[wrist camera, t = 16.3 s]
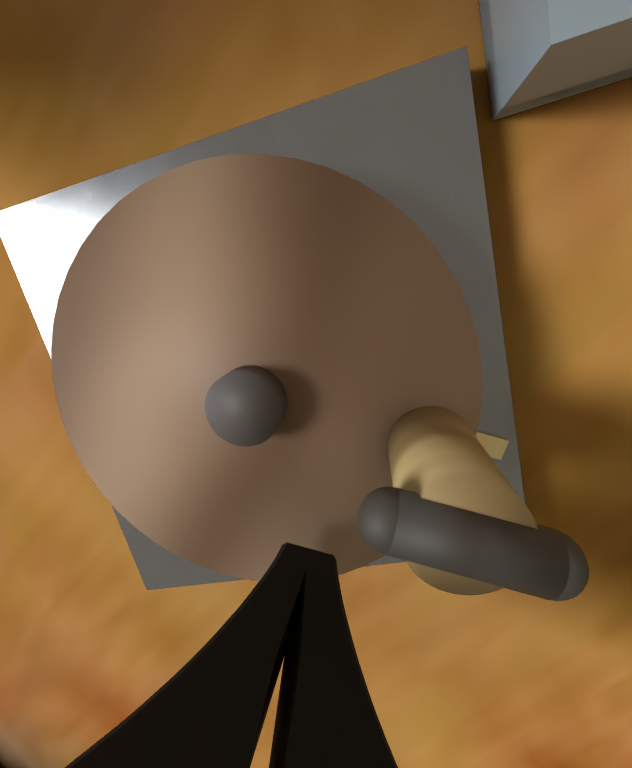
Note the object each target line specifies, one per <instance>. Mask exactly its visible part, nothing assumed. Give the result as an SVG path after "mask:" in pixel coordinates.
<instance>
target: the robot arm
mask: <svg viewBox="0 0 632 768" xmlns="http://www.w3.org/2000/svg"><path fill="white" fill-rule="evenodd" d="M284 655H285V656H284ZM283 659H284V663H283V670H282V677H281V684H280V691H279V698H278V706H277V713H276V720H275V727H274V734H273V742H272V749H271V756H270V763H269V768H398V767H397V764H396V762H395V759H394V757H393V755H392V752H391V750H390V747H389V745H388V743H387V740H386V737H385V735H384V732H383V730H382V727H381V724H380V722H379V719H378V717H377V714H376V711H375V709H374V706H373V703H372V700H371V697H370V694H369V692H368V689H367V686H366V683H365V680H364V676H363V673H362V670H361V667H360V664H359V661H358V658H357V654H356V651H355V647H354V644H353V640H352V636H351V633H350V629H349V625H348V621H347V617H346V613H345V609H344V605H343V600H342V595H341V590H340V584H339V578H338V571H337V560H336V558H335V557H334V555H332V554H328V553H324V552H321V551H317V550H313V549H310V548H306V547H302V546H299V545H295V544H291V543H288V542H287V543H285V544H283V545H282V546H281V548H280V550H279V552H278V554H277V556H276V557H275V559H274V561H273V562H272V564H271V565H270V567H269V568H268V570H267V571H266V573H265V574H264V575H263V577H262V578H261V580H260V581H259V582H258V584H257V585H256V586H255V588H254V589H253V590H252V591H251V593H250V594H249V595H248V597H247V598H246V599H245V600H244V602H243V603H242V604H241V605H240V607H239V608H238V609H237V610H236V611H235V612H234V613H233V615H232V616H231V617H230V618H229V619H228V620H227V621H226V623H225V624H224V625H223V626H222V627H221V628H220V629H219V630H218V632H217V633H216V634H215V635H214V636H213V637H212V638H211V639H210V640H209V641H208V642H207V643H206V644H205V646H204V647H203V648H202V649H201V650H200V651H199V652H198V653H197V654H196V655H195V656H194V657H193V658H192V659H191V660H190V661H189V662H188V663H187V664H186V665H185V666H184V667H182V668H181V669H180V670H179V671H178V672H177V673H176V674H175V675H174V676H173V677H172V678H171V679H170V680H169V681H168V682H167V683H165V684H164V685H163V686H162V687H161V688H160V689H159V690H158V691H157V692H156V693H154V694H153V695H152V696H151V697H150V698H149V699H148V700H147V701H146V702H144V703H143V704H142V705H141V706H140V707H139V708H138V709H136V710H135V711H134V712H133V713H132V714H131V715H129V716H128V717H127V718H126V719H125V720H124V721H122V722H121V723H120V724H119V725H118V726H116V727H115V728H114V729H113V730H111V731H110V732H109V733H108V734H106V735H105V736H104V737H103V738H101V739H100V740H99V741H98V742H96V743H95V744H94V745H93V746H91V747H90V748H89V749H88V750H86V751H85V752H84V753H83V754H81V755H80V756H79V757H77V758H76V759H75V760H74V761H72V762H71V763H70V764H69V765H67V766H66V767H65V768H250V765H251V762H252V759H253V756H254V752H255V749H256V746H257V743H258V740H259V736H260V733H261V730H262V727H263V723H264V720H265V717H266V714H267V710H268V707H269V704H270V701H271V697H272V694H273V691H274V688H275V684H276V681H277V678H278V675H279V672H280V668H281V665H282V662H283Z"/></svg>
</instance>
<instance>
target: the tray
mask: <svg viewBox="0 0 632 768" xmlns="http://www.w3.org/2000/svg"><path fill="white" fill-rule="evenodd" d="M479 8H480V16H481V25H482V33H483V42H484V50H485V59H486V67H487V76H488V84H489V92H490V101H491V109H492V118H493V120H496V119H499V118H503V117H506V116H509V115H512V114H515V113H518V112H522V111H525V110H528V109H531V108H534V107H538V106H541V105H544V104H547V103H550V102H554V101H557V100H560V99H563V98H566V97H569V96H573V95H576V94H579V93H582V92H585V91H589V90H592V89H595V88H598V87H601V86H604V85H608V84H611V83H614V82H617V81H620V80H624V79H627V78H630V77H632V0H479Z"/></svg>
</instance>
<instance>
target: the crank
mask: <svg viewBox="0 0 632 768" xmlns="http://www.w3.org/2000/svg"><path fill="white" fill-rule="evenodd" d="M51 360H52V377H53V383H54V388H55V394H56V400H57V404H58V407H59V411H60V414H61V417H62V421H63V424H64V427H65V429H66V432H67V434H68V437H69V439H70V441H71V444H72V446H73V448H74V450H75V452H76V454H77V456H78V458H79V459H80V461H81V463H82V465H83V467H84V468H85V470H86V472H87V473H88V475H89V476H90V478H91V479H92V480H93V482H94V483H95V485H96V486H97V487H98V489H99V490H100V492H101V493H102V494H103V495H104V496H105V497H106V499H107V500H108V501H109V502H110V503H111V504H112V505H113V507H114V508H115V509H116V510H117V511H118V512H119V513H120V514H121V515H122V516H123V517H124V518H125V519H127V520H128V521H129V522H130V523H131V524H132V525H133V526H134V527H135V528H136V529H138V530H139V531H140V532H142V533H143V534H144V535H146V536H147V537H148V538H150V539H151V540H152V541H154V542H155V543H157V544H158V545H160V546H162V547H163V548H165V549H167V550H168V551H170V552H172V553H173V554H175V555H177V556H179V557H181V558H183V559H185V560H188V561H190V562H192V563H194V564H196V565H198V566H201V567H204V568H207V569H210V570H213V571H216V572H218V573H221V574H226V575H230V576H234V577H239V578H243V579H249V580H258V581H260V580H261V578H262V577H263V575H264V574H265V573H266V571H267V570H268V568H269V567H270V565H271V564H272V562H273V561H274V559H275V557H276V556H277V554H278V552H279V550H280V548H281V546H282V545H283V544H285V543H287V542H288V543H291V544H295V545H299V546H302V547H306V548H310V549H313V550H317V551H321V552H324V553H328V554H332V555H334V557H335V558H336V560H337V571H338V575H340V574H343V573H346V572H349V571H352V570H354V569H357V568H360V567H363V566H365V565H367V564H369V563H371V562H373V561H375V560H377V559H379V558H381V557H383V556H385V555H387V556H391V557H395V558H398V559H402V560H405V561H406V562H407V563H408V565H409V567H410V568H411V569H412V571H413V572H414V573H415V574H416V575H417V576H418V577H419V578H421V579H422V580H423V581H424V582H426V583H428V584H429V585H431V586H433V587H435V588H437V589H439V590H442V591H445V592H449V593H453V594H460V595H479V594H485V593H490V592H493V591H496V590H499V589H501V588H507V589H511V590H514V591H518V592H521V593H525V594H529V595H532V596H536V597H540V598H543V599H547V600H553V601H564V600H569V599H572V598H574V597H576V596H577V595H579V594H580V593H581V592H582V591H583V590H584V588H585V586H586V584H587V582H588V578H589V568H588V563H587V560H586V557H585V555H584V553H583V552H582V550H581V549H580V547H579V546H578V545H577V544H576V543H575V542H574V541H573V540H572V539H571V538H570V537H568V536H567V535H565V534H564V533H562V532H560V531H558V530H555V529H552V528H549V527H545V526H541V525H537V524H536V522H535V519H534V517H533V515H532V513H531V512H530V510H529V509H528V508H527V506H526V505H525V503H524V502H523V501H522V499H521V498H520V497H519V495H518V494H517V493H516V491H515V490H514V488H513V487H512V486H511V484H510V483H509V482H508V480H507V479H506V478H505V476H504V475H503V473H502V472H501V471H500V469H499V468H498V467H497V465H496V464H495V463H494V461H493V460H492V458H491V457H490V456H489V454H488V453H487V452H486V450H485V449H484V447H483V446H482V445H481V443H480V442H479V441H478V439H477V438H476V434H477V430H478V425H479V419H480V412H481V405H482V363H481V356H480V349H479V342H478V337H477V333H476V330H475V326H474V323H473V320H472V316H471V313H470V309H469V306H468V304H467V302H466V300H465V298H464V295H463V293H462V291H461V289H460V287H459V285H458V282H457V280H456V278H455V276H454V275H453V273H452V271H451V270H450V268H449V267H448V265H447V264H446V262H445V261H444V259H443V257H442V256H441V254H440V253H439V251H438V250H437V248H436V247H435V246H434V245H433V244H432V242H431V241H430V240H429V239H428V238H427V237H426V236H425V234H424V233H423V232H422V231H421V230H420V229H419V227H418V226H417V225H416V224H415V223H414V222H413V221H412V220H411V219H410V218H408V217H407V216H406V215H405V214H404V213H403V212H401V211H400V210H399V209H398V208H397V207H396V206H395V205H393V204H392V203H391V202H390V201H389V200H387V199H386V198H384V197H383V196H381V195H380V194H378V193H376V192H375V191H373V190H372V189H370V188H369V187H367V186H366V185H364V184H362V183H361V182H359V181H357V180H355V179H353V178H350V177H348V176H346V175H344V174H342V173H339V172H337V171H335V170H333V169H331V168H328V167H325V166H322V165H318V164H315V163H311V162H307V161H304V160H300V159H297V158H291V157H283V156H276V155H268V154H229V155H224V156H218V157H213V158H207V159H201V160H197V161H194V162H191V163H188V164H185V165H182V166H179V167H176V168H173V169H171V170H168V171H166V172H164V173H162V174H160V175H158V176H157V177H155V178H153V179H151V180H149V181H147V182H145V183H143V184H141V185H140V186H139V187H137V188H136V189H135V190H133V191H132V192H131V193H129V194H128V195H127V196H125V197H124V198H123V199H121V200H120V201H119V202H117V203H116V204H115V205H114V206H113V207H112V208H111V209H110V210H109V211H108V212H107V214H106V215H105V216H104V217H103V218H102V219H101V220H100V221H99V222H98V223H97V224H96V225H95V227H94V228H93V229H92V231H91V232H90V234H89V235H88V236H87V238H86V239H85V240H84V242H83V243H82V245H81V246H80V248H79V250H78V252H77V254H76V256H75V257H74V259H73V261H72V263H71V265H70V267H69V269H68V271H67V274H66V277H65V279H64V282H63V285H62V288H61V291H60V293H59V296H58V301H57V306H56V311H55V315H54V320H53V329H52V342H51Z"/></svg>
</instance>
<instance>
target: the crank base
mask: <svg viewBox="0 0 632 768" xmlns="http://www.w3.org/2000/svg"><path fill="white" fill-rule="evenodd" d="M229 154H268V155H276V156H283V157H291V158H297V159H300V160H304V161H307V162H311V163H315V164H318V165H322V166H325V167H328V168H331V169H333V170H335V171H337V172H339V173H342V174H344V175H346V176H348V177H350V178H353V179H355V180H357V181H359V182H361V183H362V184H364V185H366V186H367V187H369V188H370V189H372V190H373V191H375V192H376V193H378V194H380V195H381V196H383V197H384V198H386V199H387V200H389V201H390V202H391V203H392V204H393V205H395V206H396V207H397V208H398V209H399V210H400V211H401V212H403V213H404V214H405V215H406V216H407V217H408V218H410V219H411V220H412V221H413V222H414V223H415V224H416V225H417V226H418V227H419V229H420V230H421V231H422V232H423V233H424V234H425V236H426V237H427V238H428V239H429V240H430V241H431V242H432V244H433V245H434V246H435V247H436V248H437V250H438V251H439V253H440V254H441V256H442V257H443V259H444V261H445V262H446V264H447V265H448V267H449V268H450V270H451V271H452V273H453V275H454V276H455V278H456V280H457V282H458V285H459V287H460V289H461V291H462V293H463V295H464V298H465V300H466V302H467V304H468V306H469V309H470V313H471V316H472V320H473V323H474V326H475V330H476V333H477V337H478V342H479V349H480V356H481V363H482V405H481V412H480V419H479V425H478V430H477V434H476V438H477V439H478V441H479V442H480V443H481V445H482V446H483V447H484V449H485V450H486V452H487V453H488V454H489V456H490V457H491V458H492V460H493V461H494V463H495V464H496V465H497V467H498V468H499V469H500V471H501V472H502V473H503V475H504V476H505V478H506V479H507V480H508V482H509V483H510V484H511V486H512V487H513V488H514V490H515V491H516V493H517V494H518V495H519V497H520V498H521V499H522V501H523V502H524V503H525V499H524V491H523V484H522V476H521V468H520V460H519V452H518V444H517V436H516V429H515V421H514V413H513V405H512V397H511V389H510V382H509V374H508V366H507V358H506V350H505V342H504V334H503V327H502V319H501V311H500V303H499V295H498V287H497V279H496V272H495V264H494V256H493V248H492V240H491V232H490V225H489V217H488V209H487V201H486V193H485V185H484V177H483V170H482V162H481V154H480V146H479V138H478V130H477V122H476V115H475V107H474V99H473V91H472V83H471V75H470V68H469V60H468V52H467V46H465V47H462V48H459V49H456V50H454V51H451V52H448V53H445V54H442V55H440V56H437V57H434V58H431V59H428V60H425V61H423V62H420V63H417V64H414V65H411V66H408V67H406V68H403V69H400V70H397V71H394V72H391V73H389V74H386V75H383V76H380V77H377V78H375V79H372V80H369V81H366V82H363V83H360V84H358V85H355V86H352V87H349V88H346V89H343V90H341V91H338V92H335V93H332V94H329V95H326V96H324V97H321V98H318V99H315V100H312V101H309V102H307V103H304V104H301V105H298V106H295V107H293V108H290V109H287V110H284V111H281V112H278V113H276V114H273V115H270V116H267V117H264V118H261V119H259V120H256V121H253V122H250V123H247V124H244V125H242V126H239V127H236V128H233V129H230V130H228V131H225V132H222V133H219V134H216V135H213V136H211V137H208V138H205V139H202V140H199V141H196V142H194V143H191V144H188V145H185V146H182V147H179V148H177V149H174V150H171V151H168V152H165V153H163V154H160V155H157V156H154V157H151V158H148V159H146V160H143V161H140V162H137V163H134V164H131V165H129V166H126V167H123V168H120V169H117V170H114V171H112V172H109V173H106V174H103V175H100V176H97V177H95V178H92V179H89V180H86V181H83V182H81V183H78V184H75V185H72V186H69V187H66V188H64V189H61V190H58V191H55V192H52V193H49V194H47V195H44V196H41V197H38V198H35V199H32V200H30V201H27V202H24V203H21V204H18V205H16V206H13V207H10V208H7V209H4V210H1V211H0V235H1V238H2V240H3V243H4V245H5V248H6V250H7V252H8V255H9V257H10V260H11V262H12V265H13V267H14V269H15V272H16V274H17V277H18V279H19V281H20V284H21V286H22V289H23V291H24V294H25V296H26V298H27V301H28V303H29V306H30V308H31V311H32V313H33V315H34V318H35V320H36V323H37V325H38V328H39V330H40V332H41V335H42V337H43V340H44V342H45V344H46V347H47V349H48V352H49V354H50V357H51V342H52V329H53V320H54V315H55V311H56V306H57V301H58V296H59V293H60V291H61V288H62V285H63V282H64V279H65V277H66V274H67V271H68V269H69V267H70V265H71V263H72V261H73V259H74V257H75V256H76V254H77V252H78V250H79V248H80V246H81V245H82V243H83V242H84V240H85V239H86V238H87V236H88V235H89V234H90V232H91V231H92V229H93V228H94V227H95V225H96V224H97V223H98V222H99V221H100V220H101V219H102V218H103V217H104V216H105V215H106V214H107V212H108V211H109V210H110V209H111V208H112V207H113V206H114V205H115V204H116V203H117V202H119V201H120V200H121V199H123V198H124V197H125V196H127V195H128V194H129V193H131V192H132V191H133V190H135V189H136V188H137V187H139V186H140V185H141V184H143V183H145V182H147V181H149V180H151V179H153V178H155V177H157V176H158V175H160V174H162V173H164V172H166V171H168V170H171V169H173V168H176V167H179V166H182V165H185V164H188V163H191V162H194V161H197V160H201V159H207V158H213V157H218V156H224V155H229ZM112 507H113V505H112ZM113 509H114V512H115V514H116V517H117V519H118V521H119V524H120V526H121V529H122V531H123V533H124V536H125V538H126V541H127V543H128V546H129V548H130V550H131V553H132V555H133V558H134V560H135V563H136V565H137V567H138V570H139V572H140V575H141V577H142V580H143V582H144V584H145V587H146V589H147V590H153V589H162V588H171V587H180V586H189V585H198V584H207V583H217V582H226V581H235V580H244V579H243V578H239V577H234V576H230V575H226V574H221V573H218V572H216V571H213V570H210V569H207V568H204V567H201V566H198V565H196V564H194V563H192V562H190V561H188V560H185V559H183V558H181V557H179V556H177V555H175V554H173V553H172V552H170V551H168V550H167V549H165V548H163V547H162V546H160V545H158V544H157V543H155V542H154V541H152V540H151V539H150V538H148V537H147V536H146V535H144V534H143V533H142V532H140V531H139V530H138V529H136V528H135V527H134V526H133V525H132V524H131V523H130V522H129V521H128V520H127V519H125V518H124V517H123V516H122V515H121V514H120V513H119V512H118V511H117V510H116V509H115V508H114V507H113ZM399 562H406V561H405V560H402V559H398V558H395V557H391V556H387V555H385V556H383V557H381V558H379V559H377V560H375V561H373V562H371V563H369V564H367V565H365V566H372V565H381V564H390V563H399Z"/></svg>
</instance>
